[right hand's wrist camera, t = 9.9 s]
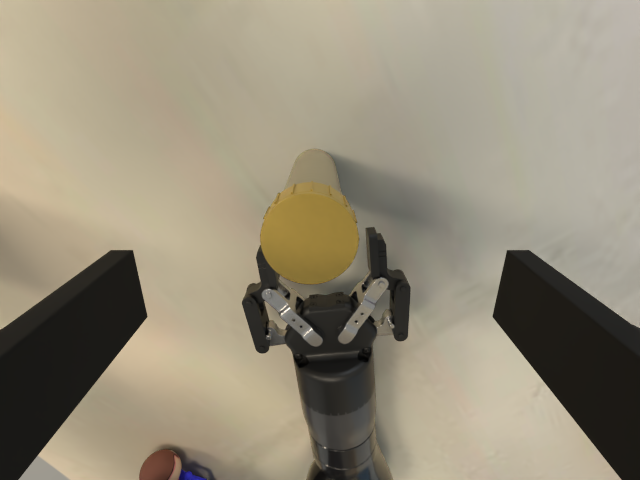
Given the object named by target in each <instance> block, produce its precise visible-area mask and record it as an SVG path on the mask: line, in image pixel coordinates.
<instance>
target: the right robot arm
mask: <svg viewBox="0 0 640 480" xmlns="http://www.w3.org/2000/svg"><path fill="white" fill-rule="evenodd" d="M146 318H147V313H146V308H145V303H144V299H143V294H142V290H141V285H140V281H139V276H138V272H137V267H136V262H135V258H134V253H133V250H111V251H109V252H108V253H107V254H105V255H104V256H102V257H101V258H100V259H98V260H97V261H96V262H94V263H93V264H91V265H90V266H89V267H87V268H86V269H85V270H83V271H82V272H80V273H79V274H78V275H76V276H75V277H73V278H72V279H71V280H69V281H68V282H67V283H65V284H64V285H62V286H61V287H60V288H58V289H57V290H56V291H54V292H53V293H51V294H50V295H49V296H47V297H46V298H44V299H43V300H42V301H40V302H39V303H38V304H36V305H35V306H33V307H32V308H31V309H29V310H28V311H27V312H25V313H24V314H22V315H21V316H20V317H18V318H17V319H15V320H14V321H13V322H11V323H10V324H9V325H7V326H6V327H4V328H3V329H1V330H0V480H18V479H19V478H20V477H21V476H22V474H23V473H24V472H25V471H26V469H27V468H28V467H29V465H30V464H31V463H32V462H33V460H34V459H35V458H36V457H37V455H38V454H39V453H40V452H41V450H42V449H43V448H44V447H45V445H46V444H47V443H48V442H49V440H50V439H51V438H52V437H53V435H54V434H55V433H56V431H57V430H58V429H59V428H60V426H61V425H62V424H63V423H64V421H65V420H66V419H67V418H68V416H69V415H70V414H71V413H72V411H73V410H74V409H75V407H76V406H77V405H78V404H79V402H80V401H81V400H82V399H83V397H84V396H85V395H86V394H87V392H88V391H89V390H90V389H91V387H92V386H93V385H94V384H95V382H96V381H97V380H98V378H99V377H100V376H101V375H102V373H103V372H104V371H105V370H106V368H107V367H108V366H109V365H110V363H111V362H112V361H113V360H114V358H115V357H116V356H117V354H118V353H119V352H120V351H121V349H122V348H123V347H124V346H125V344H126V343H127V342H128V341H129V339H130V338H131V337H132V336H133V334H134V333H135V332H136V331H137V329H138V328H139V327H140V325H141V324H142V323H143V322H144V320H145V319H146ZM493 318H494V319H495V320H496V322H497V323H498V324H499V325H500V327H501V328H502V329H503V331H504V332H505V333H506V334H507V336H508V337H509V338H510V339H511V341H512V342H513V343H514V344H515V346H516V347H517V348H518V349H519V351H520V352H521V353H522V354H523V356H524V357H525V358H526V360H527V361H528V362H529V363H530V365H531V366H532V367H533V368H534V370H535V371H536V372H537V373H538V375H539V376H540V377H541V378H542V380H543V381H544V382H545V384H546V385H547V386H548V387H549V389H550V390H551V391H552V392H553V394H554V395H555V396H556V397H557V399H558V400H559V401H560V402H561V404H562V405H563V406H564V407H565V409H566V410H567V411H568V413H569V414H570V415H571V416H572V418H573V419H574V420H575V421H576V423H577V424H578V425H579V426H580V428H581V429H582V430H583V431H584V433H585V434H586V435H587V437H588V438H589V439H590V440H591V442H592V443H593V444H594V445H595V447H596V448H597V449H598V450H599V452H600V453H601V454H602V455H603V457H604V458H605V459H606V461H607V462H608V463H609V464H610V466H611V467H612V468H613V469H614V471H615V472H616V473H617V474H618V476H619V477H620V478H621V479H622V480H640V328H638V327H636V326H634V325H631V324H630V323H629V322H627V321H626V320H625V319H623V318H622V317H620V316H619V315H618V314H616V313H615V312H613V311H612V310H611V309H609V308H608V307H607V306H605V305H604V304H602V303H601V302H600V301H598V300H597V299H596V298H594V297H593V296H591V295H590V294H589V293H587V292H586V291H584V290H583V289H582V288H580V287H579V286H578V285H576V284H575V283H573V282H572V281H571V280H569V279H568V278H567V277H565V276H564V275H562V274H561V273H560V272H558V271H557V270H555V269H554V268H553V267H551V266H550V265H549V264H547V263H546V262H544V261H543V260H542V259H540V258H539V257H538V256H536V255H535V254H533V253H532V252H531V251H529V250H507V253H506V258H505V262H504V267H503V272H502V276H501V281H500V285H499V290H498V294H497V299H496V303H495V308H494V313H493Z"/></svg>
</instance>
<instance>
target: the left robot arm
mask: <svg viewBox="0 0 640 480" xmlns="http://www.w3.org/2000/svg"><path fill="white" fill-rule="evenodd" d="M366 243H367V258H368V267H369V272H368V273H367V275H366V276H365V277H364V279H363V280H362V281H361V282H358V284H357V285H356V286H355V288H354V289H353V290H352V292H351V293H350V294H349V296H348V295H345V294H343V292H337V293H333V294H330V295H319V294H316V295H309V298H307V299H304V298H303V297H302V296H301V295H300V294H299V293H298V292H297V291H295V290H294V289H292V288H291V289H290V288H289V287H287V286H286V285H285V284H284V283H283V282H282V281H281V280H280V279H279V276H280V274H278V273H277V272H276V271H275V270H274V269H273V268H272V267H271V266H270V265H269V263H268V262H267V260H266V259H265V256H264V254H263V251H262V248H261V245H260V247H259V250H258V252H257V257H256V259H257V263H258V268H259V274H260V279H261V282H259V283H257V284H255V283H252V284H250V285H249V286H248V288H247V292H246V295H245V297H244V298H243V301H242V305H243V308H244V312H245V315H246V318H247V322H248V325H249V328H250V332H251V335H252V338H253V342H254V345H255V348H256V350H257V352H259V353H266V352H267V351H268V350H269V346H273V345H280V344H286V345H287V346H288V347H289V348H290V349H291V351H292V353H293V358H294V364H295V369H296V375H297V381H298V387H299V392H300V398H301V404H302V409H303V414H304V417H305V420H306V423H307V425H308V430H309V436H310V441H311V447H312V452H313V456H314V459H315V460H314V461H313V463H312V464H311V466H310V469H309V472H308V475H307V478H306V480H393V478H392V475H391V472H390V469H389V467H388V465H387V463H386V461H385V458H384V456H383V454H382V452H381V450H380V447H379V445H378V443H377V441H376V430H375V412H376V394H375V378H374V363H373V348H372V345H373V341H374V340H375V338H376V336H377V335H394V338H395V339H396V340H397V341H404V340H405V339H406V338H407V337H408V322H409V305H410V285H409V283H408V281H407V279H406V277H405V275H404V273H403V271H401V270H394V271H393V270H389V269H387V256H386V244H385V241H384V239H383V237H382V235H381V233H376V230H375V228H374V227H371V228H366ZM386 289H388V290H390V310H389V309H386V310H385V312H384V313H383V315H382V318H381V319H380V320H379V321H375V320H374V319H373V318H372V317H371V316H370V314H371V313H372V311H373V310H374V308H375V305H376V302H377V300H378V299H379V298H380V296H381V295H382V294H383V293H384V291H385V290H386ZM264 301H266V302H267V303H269V304H270V305H271V306H272V307H273V308H275V309H276V310H277V311H278V313H279V315H280V317H281V318H282V319H283V320H284V321H285V322H286V323H288V325H287V326H286V329H285V330H282V329H279V328H278V326H277V324H276V323H274V321H273V320H270V321H269V317H268V314H267V310H266V306H265V303H264Z"/></svg>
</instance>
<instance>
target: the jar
mask: <svg viewBox="0 0 640 480" xmlns="http://www.w3.org/2000/svg"><path fill="white" fill-rule="evenodd" d="M311 181H313V182H316V183H322V184H325V185H328V186H329V185H331V187H332V188H334V189H335V190H337V191H338V192H339V193H341V194H342V192H341V188H340V184H339V179H338V175H337V170H336V166H335V163H334V160H333V159H332V157H331V156H330V155H329V154H328V153H326V152H324V151H322V150H319V149H310V150H307V151H305V152H303V153H302V154H300V155H299V156H298V158H297V159H296V161H295V163H294V166H293V169H292V171H291V174H290V176H289V179H288V181H287V184H286V187H285V189H287V188H289V187H291V186H293V184H295V185H296V184H299V183H304V182H311ZM285 189H284V190H285Z"/></svg>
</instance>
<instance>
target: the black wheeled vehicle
mask: <svg viewBox="0 0 640 480" xmlns="http://www.w3.org/2000/svg"><path fill="white" fill-rule="evenodd" d="M139 480H207V479H206V478H202V477H199V476H196V475H192V472H191V471H187V472H185V471H184V470H181V460H180V458H179V456H178V455H177V454H176V453H175V452H174V451H172V450H168V449H163V450H159V451H156V452H154V453H153V454H151V455H150V456H149V457H148V458H147V459H146V460H145V462H144V463H143V465H142V467H141V470H140V475H139Z"/></svg>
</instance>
